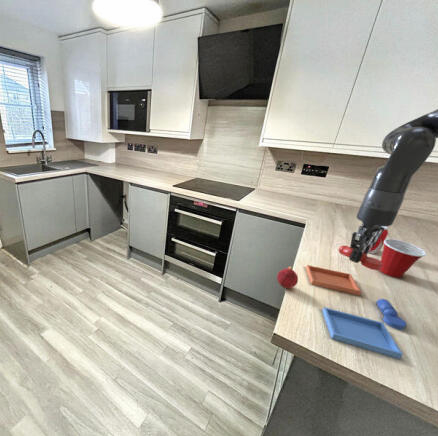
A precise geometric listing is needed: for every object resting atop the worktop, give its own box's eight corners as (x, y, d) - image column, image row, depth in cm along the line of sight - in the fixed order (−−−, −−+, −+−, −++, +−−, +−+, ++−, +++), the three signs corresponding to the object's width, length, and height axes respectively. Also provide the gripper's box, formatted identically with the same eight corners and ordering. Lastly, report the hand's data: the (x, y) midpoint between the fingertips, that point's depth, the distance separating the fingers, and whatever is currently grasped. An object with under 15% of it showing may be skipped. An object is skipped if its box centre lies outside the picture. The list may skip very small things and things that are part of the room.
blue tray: (379, 328, 63) (382, 322, 62) (399, 360, 54) (403, 354, 54) (321, 312, 68) (323, 307, 67) (331, 339, 59) (333, 334, 58)
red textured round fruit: (297, 294, 75) (304, 273, 72) (278, 292, 76) (284, 271, 72) (290, 283, 80) (296, 263, 77) (272, 281, 81) (278, 261, 78)
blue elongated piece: (370, 302, 72) (374, 295, 71) (388, 307, 71) (392, 299, 69) (386, 327, 63) (391, 319, 62) (407, 333, 62) (412, 324, 61)
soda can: (381, 256, 98) (394, 231, 93) (361, 253, 100) (372, 228, 96) (373, 249, 104) (384, 224, 100) (354, 246, 106) (364, 221, 102)
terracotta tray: (348, 278, 83) (350, 274, 82) (359, 296, 75) (361, 291, 74) (305, 269, 88) (307, 264, 87) (310, 285, 79) (312, 280, 79)
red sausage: (334, 253, 73) (337, 245, 72) (341, 250, 75) (344, 242, 74) (376, 271, 65) (380, 262, 64) (382, 267, 67) (387, 258, 66)
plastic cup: (402, 286, 80) (419, 256, 75) (364, 269, 89) (377, 241, 84) (417, 279, 84) (433, 250, 80) (380, 263, 93) (392, 236, 89)
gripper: (387, 214, 57) (360, 272, 64) (408, 206, 64) (382, 260, 70) (351, 204, 64) (330, 259, 70) (374, 198, 70) (353, 249, 76)
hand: (356, 259), depth 70 cm, fingers closed on red sausage, 3 cm apart
